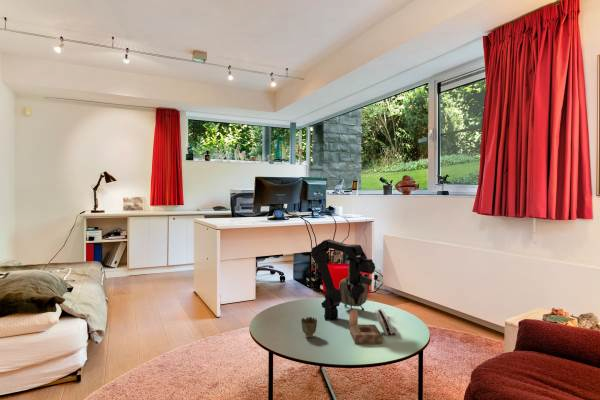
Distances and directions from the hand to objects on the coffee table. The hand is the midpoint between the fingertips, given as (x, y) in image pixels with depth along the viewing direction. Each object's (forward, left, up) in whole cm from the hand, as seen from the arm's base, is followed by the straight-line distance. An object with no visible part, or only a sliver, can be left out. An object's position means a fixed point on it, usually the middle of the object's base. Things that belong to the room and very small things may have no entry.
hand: (354, 301), depth 171 cm
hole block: (+3, -13, -13) cm, 19 cm away
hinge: (+15, -2, -13) cm, 20 cm away
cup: (-23, -11, -13) cm, 29 cm away
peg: (0, 0, -13) cm, 13 cm away
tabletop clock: (+4, +24, -13) cm, 28 cm away
